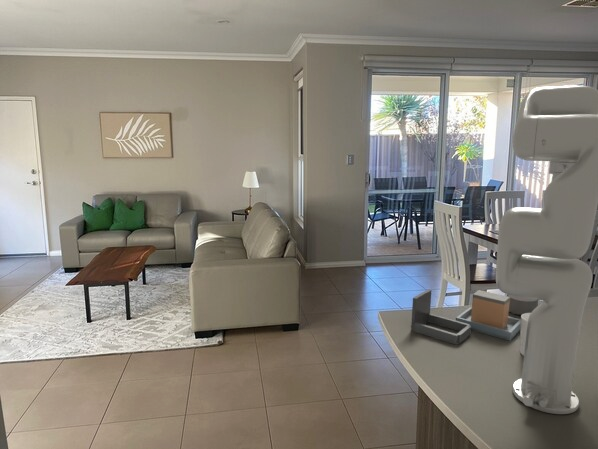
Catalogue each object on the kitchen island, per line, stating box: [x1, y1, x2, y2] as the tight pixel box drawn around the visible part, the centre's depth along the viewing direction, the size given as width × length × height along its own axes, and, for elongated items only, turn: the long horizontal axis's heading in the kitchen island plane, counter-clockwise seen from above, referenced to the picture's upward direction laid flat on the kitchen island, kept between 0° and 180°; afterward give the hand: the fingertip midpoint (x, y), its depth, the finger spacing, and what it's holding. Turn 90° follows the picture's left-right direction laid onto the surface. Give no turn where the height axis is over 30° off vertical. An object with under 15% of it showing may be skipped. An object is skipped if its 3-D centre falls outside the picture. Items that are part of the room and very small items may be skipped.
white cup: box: [519, 313, 531, 357], centre depth 114 cm, size 8×8×10 cm
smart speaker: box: [506, 294, 539, 317], centre depth 142 cm, size 10×9×14 cm
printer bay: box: [410, 289, 472, 345], centre depth 128 cm, size 10×14×10 cm
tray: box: [455, 306, 521, 341], centre depth 132 cm, size 12×16×2 cm
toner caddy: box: [471, 289, 510, 329], centre depth 131 cm, size 5×9×9 cm, turn 48°
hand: (557, 231), depth 122 cm, fingers open, 9 cm apart
